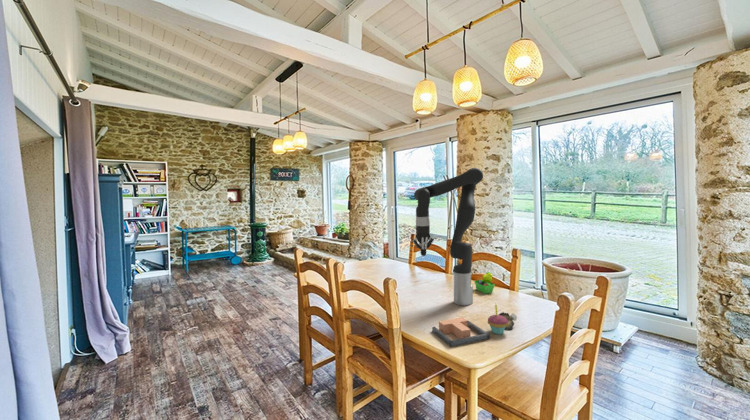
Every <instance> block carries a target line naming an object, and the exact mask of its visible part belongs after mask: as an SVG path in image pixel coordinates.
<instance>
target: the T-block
mask: <svg viewBox="0 0 750 420" xmlns="http://www.w3.org/2000/svg"><path fill="white" fill-rule="evenodd" d="M467 321H468V320H467V319H465V318H464V317H461V316H460V317H457V318H452V319H451V318H450V319H446V320H445V319H444V320H440V321H438V330H440V331H441V332H442V333H443V334H445V335H447V334H450V333H452V334H453V335H455V336H456V337H457V339H461V338H466V337H471V328H469V327H468V326H467Z"/></svg>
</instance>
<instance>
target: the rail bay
mask: <svg viewBox="0 0 750 420" xmlns="http://www.w3.org/2000/svg"><path fill="white" fill-rule="evenodd" d="M467 327H468V328H469V329H470V330H472V331H474V332H475V333H476V334H477V335H472V336H471V337H466V338H461V339H460V338H457V339H451V338H449V336H447V334H443V333H442V332H441V331H440V330H439V328H437V327H436V326H432V328H431V331H432V333H434V334H435V335H436V336H437V337H438V338H440V340H442V341H443V342H444V343H445V344H446V345H448V346H449V347H451V348H453V347H458V346H462V345H463V346H464V345H467V344H473V343H477V342H481V341H487V340H490V338H491V337H490V336H491V335H490V333H488V332H487V331H485V330H483V328H481V327H479V326H478V325H476V324H474V323H473V322H471V321H469V320H467Z"/></svg>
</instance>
